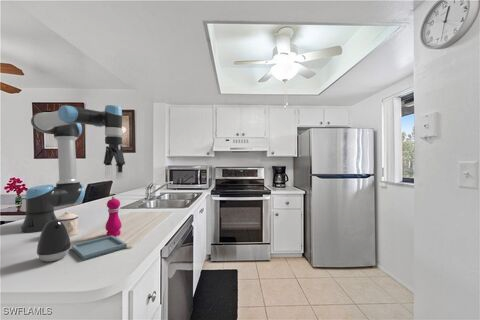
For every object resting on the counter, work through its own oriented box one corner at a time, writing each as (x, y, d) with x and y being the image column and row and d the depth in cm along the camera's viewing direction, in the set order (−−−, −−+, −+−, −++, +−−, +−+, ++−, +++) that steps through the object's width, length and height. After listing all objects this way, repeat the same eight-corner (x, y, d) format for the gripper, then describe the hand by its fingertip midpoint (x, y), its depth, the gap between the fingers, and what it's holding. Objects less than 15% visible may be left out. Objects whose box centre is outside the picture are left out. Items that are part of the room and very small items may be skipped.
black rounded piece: (42, 267, 81) (42, 225, 80) (32, 260, 86) (32, 220, 86) (75, 257, 89) (75, 218, 89) (64, 251, 95) (64, 215, 95)
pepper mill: (114, 238, 110) (114, 197, 110) (101, 236, 112) (101, 196, 112) (124, 233, 118) (124, 195, 117) (112, 232, 119) (112, 194, 119)
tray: (71, 249, 96) (71, 245, 96) (111, 239, 109) (111, 235, 109) (83, 260, 86) (83, 255, 86) (126, 248, 98) (126, 243, 98)
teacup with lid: (53, 234, 114) (53, 212, 114) (74, 230, 121) (74, 208, 121) (60, 240, 107) (60, 216, 107) (83, 235, 114) (83, 212, 114)
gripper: (132, 135, 109) (132, 179, 109) (111, 138, 125) (111, 176, 125) (115, 134, 103) (116, 180, 103) (96, 137, 119) (96, 177, 119)
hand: (113, 178), depth 114 cm, fingers open, 13 cm apart
